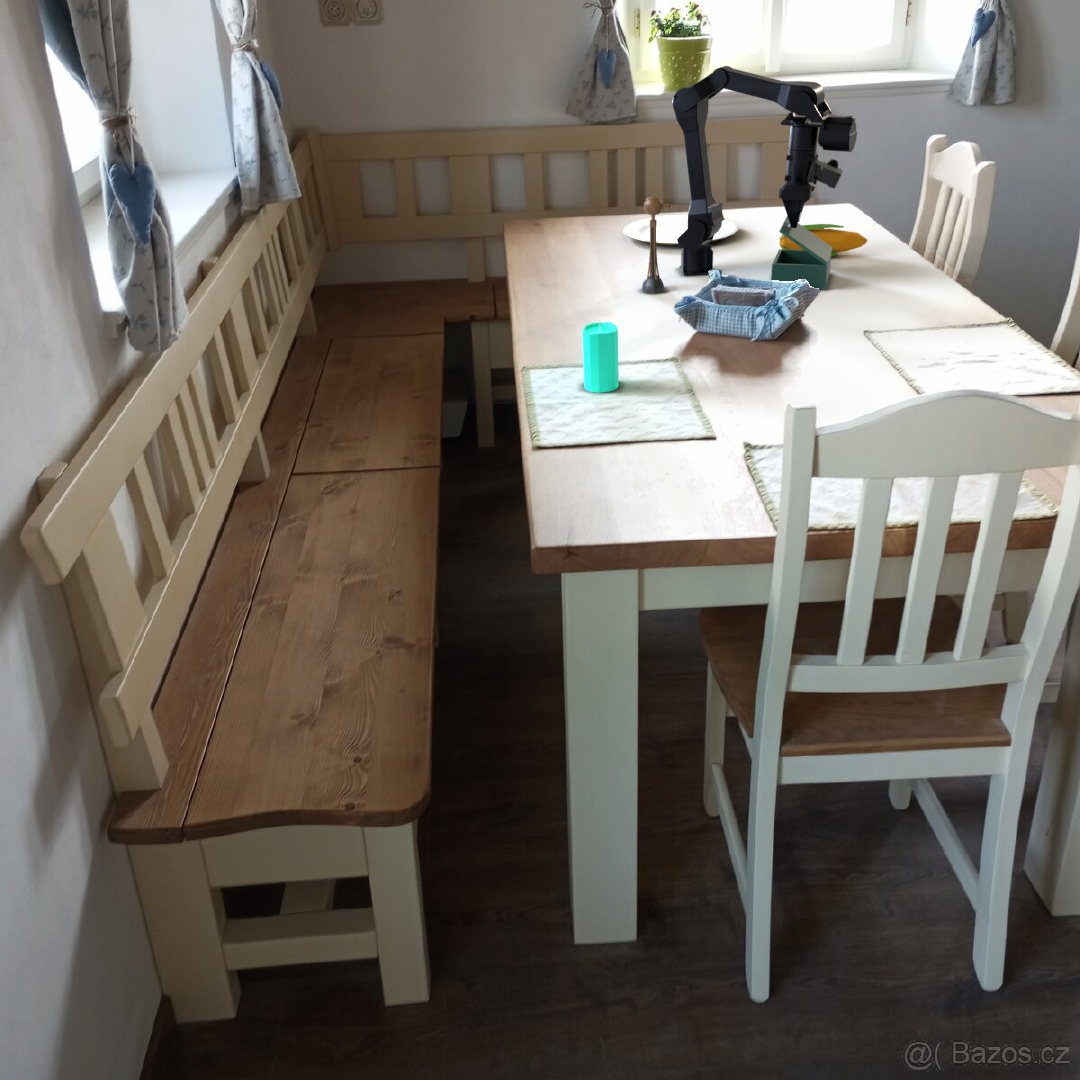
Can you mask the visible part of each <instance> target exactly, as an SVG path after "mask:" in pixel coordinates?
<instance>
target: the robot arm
mask: <svg viewBox="0 0 1080 1080" xmlns="http://www.w3.org/2000/svg"><path fill="white" fill-rule="evenodd" d="M723 90H729V91H732V92H736V93H739V94H743V95H747V96H751V97H754V98H759V99H762V100H766V101H770V102H773V103H775V104H777V105H779V106H780V107H781V108H783V109H784V110H786V111H788V114H787V115H786V117H784V119H782V120H781V121H780V123H779V124H780V126H788V127H790V128H789V139H788V148H787V149H788V151H787V154H786V159H785V160H786V170H785V171H786V172H785V175H784V182H783V183H782V185H780V187H779V190H778V191H779V192H778V199H781V201H782V205H783V207H784V210H785V213H786V217H787V216H788V219H789V222H790V225H791V228H797V224H798V223H800V221H801V220H800V219H801V217H800V214H801V212H802V213H803V210H804V207H805V204H806V203H807V202H808V201H809V200H811V197H812V192H813V191H815V189H816V186H815V185H817V183H818V182H819V183H821V184H824V185H827V187H829V188H831V189H836V188H837V185H838V183H839V181H840V179H841V177H842V175H843V172H844V171H843V170H842V168H839V160H837V159H835V158H831V159H830V160H829V161H827V162H826V161H821V160H819V153H818V151H817V149H818V145H819V147H822V150H823V151H830V152H842V153H843V152H844V153H852V152H853V151H854V149H855V146H856V142H857V136H858V131H857V123H856V116H855V115H845V116H844V115H842V116H841V115H834V113H833V112H832V110H831V107H830V106H829V104H828V103H827V101H826V99H825V97H826V94H825V90H824V88H823V86H822V85H821V84H820V83H818V82H816V81H808V80H807V81H804V80H790V81H789V80H780V79H777V78H772V77H768V76H764V75H760V74H756V73H753V72H749V71H744V70H740V69H736V68H733V67H731V66H729V65H723V66H720V67H718V68H715V69H714V70H713V71H712V72H711V73H710V74H708V75H707V76H705V77H703V78H702V79H701V80H698V81H697V82H696V83H693V84H690V85H687V86H684V87H681V88H679V89H678V90H677V91H676V92H675V94H673V96H672V101H671V102H672V104H671V105H672V109H673V112H674V116H675V119H676V122H677V123H678V126H679V127H680V129H681V131H682V134H683V140H684V149H685V157H686V165H687V166H686V167H687V174H688V183H689V192H690V203H689V208H688V212H687V215H688V225H687V230H686V231H685V232H684V233H683V234H682V235H681V236H680V237H678V238H677V241H678V244H679V246H678V248H679V249H680V266H679V270H680V272H681V274H682V275H683V276H696V275H697V276H699V275H709V274H708V271H709V270H711V271H712V270H713V268H714V251H713V249H712V244H711V242H710V241H712V240H713V237H714V235H715V234H716V233H717V232H718V231H719V230H720V228H721V226H722V221H723V220H725V219H726V218H725V217H724V213H723V201H718V202H716V200H715V198H714V196H713V191H712V183H711V174H710V166H709V165H710V164H709V153H708V146H707V137H706V124H707V119H708V115H709V106H710V105H709V101H710V100H711V99H712V98H714V97H715V96H717V95H719V93H721V92H722V91H723ZM810 183H812V184H813V185H811V184H810ZM799 217H800V219H799ZM712 242H713V241H712Z"/></svg>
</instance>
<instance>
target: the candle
mask: <svg viewBox="0 0 1080 1080" xmlns="http://www.w3.org/2000/svg"><path fill="white" fill-rule="evenodd" d="M598 320H599V322H590V323H588V324H586V325H584V327H583V328H582V354H583V356H582V357H583V387H584V389H585V390H586V391H589V392H592V393H598V394H599V393H600V394H601V393H609V392H613V391H615V390H617V389H618V388H619V385H620V384H619V383H620V382H619V380H620V379H619V329H618V326H617V325H616V324H615V323H612V322H611V321H604V322H603V321H601V318H599V319H598Z"/></svg>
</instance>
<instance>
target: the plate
mask: <svg viewBox="0 0 1080 1080" xmlns="http://www.w3.org/2000/svg"><path fill="white" fill-rule="evenodd" d="M724 219H725V220H723V221H722V226H721V228H720V230H719V231H718V232H717V233H716V234H715V235H714V237H713V240H712V241H710V242H709V243H712V242H716V241H720V240H724V239H726V238H729V237H732V236H734V235H735V234H737V232H739V225H737V224H736V222H734V221H731V220H729V219H726V218H724ZM649 220H651V217H649V218H645V219H641V220H636V221H634V222H632V223H631V222H630V224H628V225H627V226H625V227H624V229H623V233H624V235H625V236H626V237H628V238H630V239H632V240H635V241H638V242H643V243H648V244H650V221H649ZM655 220H657V221H656V245H659V246H678V247H679V244H678V241H677V238H678V237H680V236H681V235H682V234H683V233H684V232H685V231H686V230H687V225H688V214H686V215H685V214H683V215H682V214H679V215H678V214H677V215H663V216H655Z"/></svg>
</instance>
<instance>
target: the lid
mask: <svg viewBox="0 0 1080 1080" xmlns="http://www.w3.org/2000/svg"><path fill="white" fill-rule="evenodd" d="M802 215H803V211H802V212H801V214H800V217H799V219H801V216H802ZM802 225H803V224H800V222H798V224H797V228H791V225H790V222H789V219H788V216H787V215H786V217H785V219H784V221H783V222H782V225H781V226H780V228H779V232H778V233H780V234H781V235H784V236H786V237H787V238H789V239H790V240H791V241H793V242H794V243H796V244H797V245H798V246H800V247H801V248H803V249H804V250H805V251H807V252H808V253H810V254H811V255H812V256H814V257H815V258H817V259H818V260H819V261H821V262H822V263H824V264H825V265H827V263H828V261H829V258H830V255H831V251H832V247H831V246H830V245H828V244H827V243H825V242H824V241H823V240H821V239H820V238H818V237H817V236H816V235H814V234H813V233H811V232H810V231H809V230H807V229H806V228H804V227H803V226H802Z"/></svg>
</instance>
